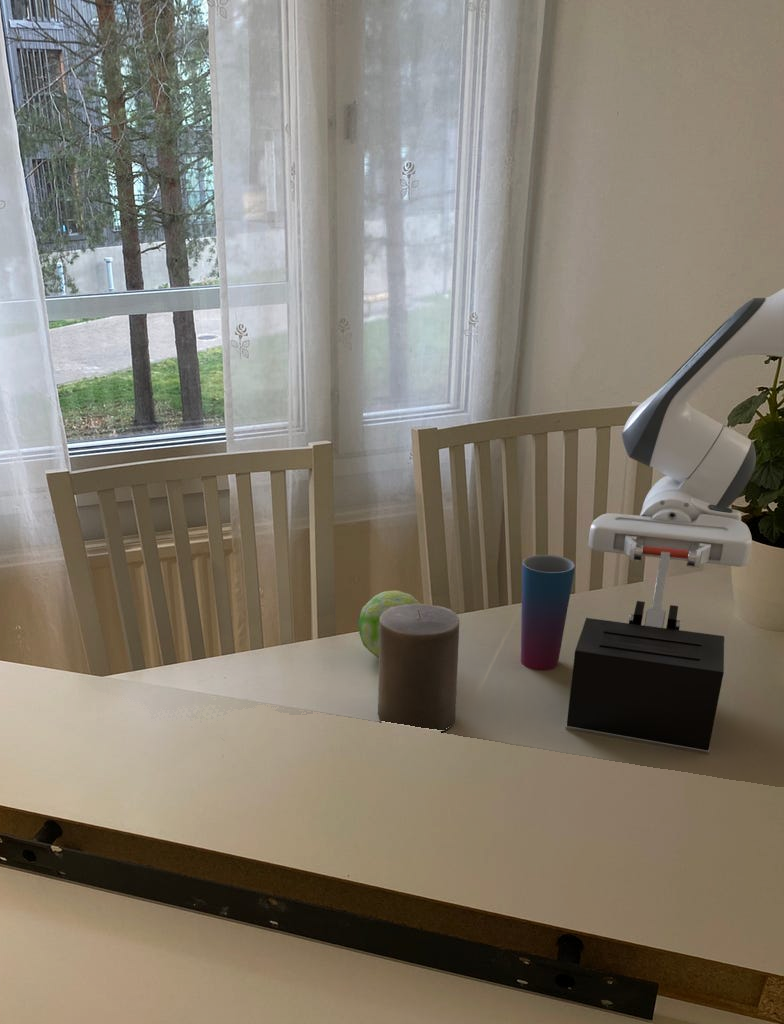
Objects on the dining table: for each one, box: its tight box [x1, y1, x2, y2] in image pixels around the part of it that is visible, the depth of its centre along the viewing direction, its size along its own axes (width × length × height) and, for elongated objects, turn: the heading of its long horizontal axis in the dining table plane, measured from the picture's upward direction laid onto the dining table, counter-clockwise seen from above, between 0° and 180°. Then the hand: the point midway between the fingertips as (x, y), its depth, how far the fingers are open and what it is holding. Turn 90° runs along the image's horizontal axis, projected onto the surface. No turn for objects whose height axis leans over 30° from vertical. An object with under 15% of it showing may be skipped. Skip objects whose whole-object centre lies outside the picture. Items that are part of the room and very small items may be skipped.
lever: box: [643, 546, 689, 628], centre depth 116 cm, size 12×6×2 cm
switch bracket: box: [628, 600, 682, 630], centre depth 117 cm, size 6×8×12 cm
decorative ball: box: [358, 590, 421, 658], centre depth 128 cm, size 10×10×10 cm
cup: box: [520, 554, 576, 672], centre depth 124 cm, size 7×7×15 cm
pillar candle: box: [377, 603, 460, 731], centre depth 112 cm, size 10×10×15 cm
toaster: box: [564, 617, 725, 756], centre depth 110 cm, size 16×10×11 cm, turn 67°
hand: (664, 558), depth 117 cm, fingers closed on lever, 5 cm apart
